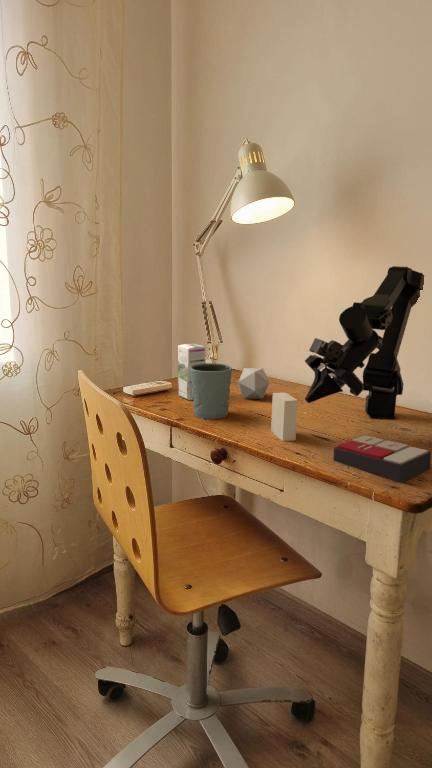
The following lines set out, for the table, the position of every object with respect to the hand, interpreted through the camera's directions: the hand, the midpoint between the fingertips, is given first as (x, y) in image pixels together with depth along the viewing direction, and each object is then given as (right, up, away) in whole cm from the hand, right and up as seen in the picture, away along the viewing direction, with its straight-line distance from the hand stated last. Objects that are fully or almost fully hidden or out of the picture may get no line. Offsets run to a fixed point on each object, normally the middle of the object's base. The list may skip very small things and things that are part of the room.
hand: (306, 401), depth 128 cm
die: (-10, 0, +33) cm, 34 cm away
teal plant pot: (-22, -4, +16) cm, 27 cm away
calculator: (+12, -12, -15) cm, 23 cm away
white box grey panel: (-5, -8, 0) cm, 9 cm away
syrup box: (-27, 0, +31) cm, 41 cm away
